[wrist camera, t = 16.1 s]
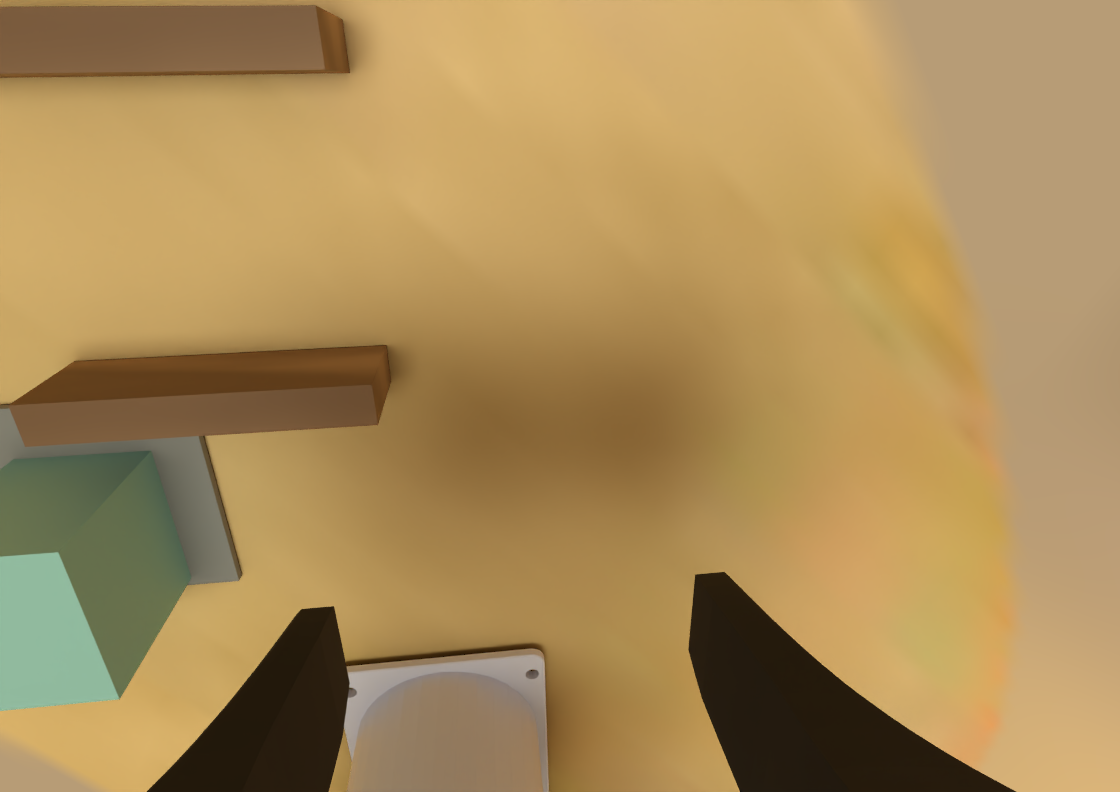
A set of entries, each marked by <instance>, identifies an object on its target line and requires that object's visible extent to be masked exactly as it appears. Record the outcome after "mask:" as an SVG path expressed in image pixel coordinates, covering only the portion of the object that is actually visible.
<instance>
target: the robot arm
mask: <svg viewBox="0 0 1120 792" xmlns="http://www.w3.org/2000/svg"><path fill="white" fill-rule="evenodd" d="M689 653H690V657H691V661H692V664H693V668H694V672H695V676H696V679H697V682H698V686H699V689H700V693H701V696H702V699H703V702H704V704H705V707H706V709H707V712H708V714H709V717H710V719H711V722H712V724H713V727H714V729H715V732H716V734H717V737H718V739H719V742H720V744H721V746H722V749H723V751H724V754H725V756H726V759H727V761H728V763H729V766H730V768H731V771H732V773H733V776H734V778H735V780H736V783H737V785H738V788H739V790H740V792H1016V791H1014V790H1012V789H1010V788H1008V787H1006V786H1004V785H1003V784H1001V783H999V782H997V781H995V780H993V779H992V778H990V777H988V776H986V775H984V774H982V773H981V772H979V771H977V770H975V769H973V768H971V767H970V766H968V765H966V764H965V763H963V762H961V761H959V760H958V759H956V758H954V757H952V756H951V755H949V754H947V753H946V752H944V751H942V750H941V749H939V748H938V747H936V746H934V745H933V744H931V743H930V742H928V741H927V740H925V739H923V738H922V737H920V736H919V735H917V734H915V733H914V732H912V731H911V730H909V729H908V728H906V727H905V726H903V725H902V724H900V723H899V722H897V721H896V720H894V719H893V718H891V717H890V716H888V715H887V714H886V713H884V712H883V711H882V710H880V709H879V708H877V707H876V706H875V705H873V704H872V703H870V702H869V701H868V700H866V699H865V698H864V697H862V696H861V695H859V694H858V693H857V692H855V691H854V690H853V689H852V688H850V687H849V686H848V685H846V684H845V683H844V682H843V681H841V680H840V679H839V678H838V677H836V676H835V675H834V674H833V673H832V672H830V671H829V670H828V669H827V668H826V667H824V666H823V665H822V664H821V663H820V662H818V661H817V660H816V659H815V658H814V657H813V656H812V655H810V654H809V653H808V652H807V651H806V650H805V649H804V648H803V647H802V646H800V645H799V644H798V643H797V642H796V641H795V640H794V639H793V638H792V637H791V636H790V635H788V634H787V633H786V632H785V631H784V630H783V629H782V628H781V627H780V626H779V625H778V624H777V623H776V622H775V621H774V620H773V619H771V618H770V617H769V616H768V615H767V614H766V613H765V612H764V611H763V610H762V609H761V608H760V607H759V606H758V605H757V604H756V603H755V602H754V601H753V600H752V599H751V598H750V597H749V596H748V595H747V594H746V593H745V592H744V591H743V590H742V589H741V588H740V587H739V586H738V585H737V584H736V583H735V582H734V581H733V580H732V579H731V578H730V577H729V576H728V575H727V574H726V573H725V572H720V573H709V574H697V575H695V584H694V595H693V606H692V617H691V628H690V639H689ZM532 669H534V671H529V670H532ZM349 688H354V689H349ZM343 729H345V733H346V738H347V742H348V747H349V752H350V756H351V761H352V766H351V771H350V776H349V781H348V787H347V792H549V778H548V748H547V719H546V689H545V662H544V655H543V653H542V652H541V651H540V650H538V649H521V650H510V651H500V652H490V653H479V654H469V655H459V656H448V657H438V658H427V659H417V660H407V661H396V662H386V663H376V664H365V665H355V666H346V663H345V658H344V653H343V648H342V643H341V638H340V634H339V629H338V624H337V619H336V614H335V609H334V606H333V607H321V608H310V609H301V610H300V611H299V613H298V614H297V615H296V616H295V617H294V619H293V620H292V621H291V623H290V624H289V625H288V627H287V628H286V629H285V631H284V632H283V634H282V635H281V636H280V638H279V639H278V640H277V642H276V643H275V644H274V646H273V647H272V648H271V650H270V651H269V652H268V654H267V655H266V656H265V658H264V659H263V660H262V661H261V663H260V664H259V665H258V667H257V668H256V669H255V671H254V672H253V673H252V674H251V676H250V677H249V678H248V679H247V681H246V682H245V683H244V684H243V686H242V687H241V688H240V689H239V691H238V692H237V693H236V694H235V696H234V697H233V698H232V699H231V700H230V702H229V703H228V704H227V705H226V706H225V708H224V709H223V710H222V711H221V712H220V713H219V715H218V716H217V717H216V718H215V719H214V720H213V721H212V723H211V724H210V725H209V726H208V727H207V728H206V729H205V731H204V732H203V733H202V734H201V735H200V736H199V737H198V739H197V740H196V741H195V742H194V743H193V744H192V745H191V746H190V748H189V749H188V750H187V751H186V752H185V753H184V754H183V755H182V756H181V757H180V758H179V759H178V760H177V761H176V763H175V764H174V765H173V766H172V767H171V768H170V769H169V770H168V771H167V772H166V773H165V774H164V775H163V776H162V777H161V778H160V779H159V780H158V781H157V782H156V783H155V784H154V785H153V786H152V787H151V788H150V789H149V790H148V791H147V792H329V788H330V784H331V780H332V776H333V772H334V768H335V764H336V760H337V756H338V752H339V748H340V744H341V740H342V736H343Z"/></svg>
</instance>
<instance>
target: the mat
mask: <svg viewBox="0 0 1120 792" xmlns="http://www.w3.org/2000/svg"><path fill="white" fill-rule="evenodd" d="M8 405H10V404H8ZM8 405H0V469H2V468H3V467H4V466H5V465H7V464H8V463H9V462H10V461H12V460H13V459H26V458H42V457H58V456H73V455H89V454H105V453H120V452H136V451H151V452H152V455H153V458H154V461H155V464H156V467H157V471H158V474H159V477H160V480H161V483H162V486H163V489H164V493H165V496H166V499H167V502H168V505H169V508H170V512H171V515H172V518H173V521H174V524H175V527H176V530H177V534H178V537H179V540H180V543H181V546H182V549H183V552H184V556H185V559H186V562H187V565H188V568H189V571H190V575H191V579H190V581H189V583H188V584H187V585H195V584H207V583H219V582H231V581H239V580H240V578H241V576H242V574H241V570H240V567H239V563H238V560H237V556H236V552H235V549H234V545H233V542H232V538H231V534H230V531H229V527H228V523H227V520H226V516H225V513H224V509H223V505H222V502H221V498H220V495H219V491H218V487H217V484H216V480H215V476H214V473H213V469H212V466H211V462H210V458H209V455H208V451H207V448H206V444H205V440H204V437H203V436H193V437H177V438H161V439H145V440H129V441H113V442H97V443H81V444H65V445H49V446H34V447H25V445H24V443H23V441H22V438H21V436H20V433H19V431H18V428H17V426H16V423H15V421H14V419H13V416H12V414H11V411H10V409H9V406H8Z"/></svg>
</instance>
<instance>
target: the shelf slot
mask: <svg viewBox="0 0 1120 792" xmlns="http://www.w3.org/2000/svg"><path fill="white" fill-rule="evenodd" d="M306 73H350V72H349V65H348V57H347V50H346V42H345V35H344V27H343V20H342V19H340V18H338V17H336V16H335V15H333V14H331V13H329V12H327V11H325V10H323V9H321V8H319V7H317V6H81V7H0V78H8V77H82V76H157V75H232V74H306ZM390 383H391V377H390V370H389V362H388V355H387V347H386V345H383V346H364V347H345V348H325V349H306V350H287V351H267V352H248V353H229V354H209V355H190V356H171V357H151V358H132V359H113V360H94V361H74V362H73V363H71V364H70V365H68V366H67V367H65V368H64V369H62V370H61V371H59V372H58V373H56V374H55V375H53V376H52V377H50V378H49V379H47V380H46V381H44V382H43V383H41V384H40V385H38V386H37V387H35V388H34V389H32V390H31V391H29V392H28V393H26V394H25V395H23V396H22V397H20V398H19V399H17V400H16V401H14V402H13V403H11V404H10V405H8V406H9V409H10V411H11V414H12V416H13V419H14V421H15V423H16V426H17V428H18V431H19V433H20V436H21V438H22V441H23V443H24V445H25V447H34V446H49V445H65V444H81V443H97V442H113V441H129V440H145V439H161V438H177V437H193V436H208V435H224V434H240V433H256V432H272V431H288V430H304V429H320V428H336V427H352V426H367V425H378V422H379V419H380V416H381V413H382V409H383V406H384V403H385V399H386V396H387V393H388V390H389V386H390Z"/></svg>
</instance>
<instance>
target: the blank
mask: <svg viewBox="0 0 1120 792" xmlns="http://www.w3.org/2000/svg"><path fill="white" fill-rule="evenodd" d="M190 579H191V575H190V571H189V568H188V565H187V562H186V559H185V556H184V552H183V549H182V546H181V543H180V540H179V537H178V534H177V530H176V527H175V524H174V521H173V518H172V515H171V512H170V508H169V505H168V502H167V499H166V496H165V493H164V489H163V486H162V483H161V480H160V477H159V474H158V471H157V467H156V464H155V461H154V458H153V455H152V452H151V451H136V452H120V453H105V454H89V455H73V456H58V457H42V458H26V459H13V460H12V461H10V462H9V463H8V464H7V465H5V466H4V467H3V468H2V469H0V711H4V710H15V709H25V708H35V707H45V706H56V705H66V704H76V703H86V702H97V701H107V700H117V699H120V698H121V696H122V694H123V693H124V691H125V689H126V687H127V686H128V684H129V682H130V681H131V679H132V677H133V676H134V674H135V672H136V671H137V669H138V667H139V665H140V664H141V662H142V660H143V659H144V657H145V655H146V654H147V652H148V650H149V649H150V647H151V645H152V644H153V642H154V640H155V638H156V637H157V635H158V633H159V632H160V630H161V628H162V627H163V625H164V623H165V622H166V620H167V618H168V616H169V615H170V613H171V611H172V610H173V608H174V606H175V605H176V603H177V601H178V600H179V598H180V596H181V595H182V593H183V591H184V589H185V588H186V586H187V584H188V583H189V581H190Z"/></svg>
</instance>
